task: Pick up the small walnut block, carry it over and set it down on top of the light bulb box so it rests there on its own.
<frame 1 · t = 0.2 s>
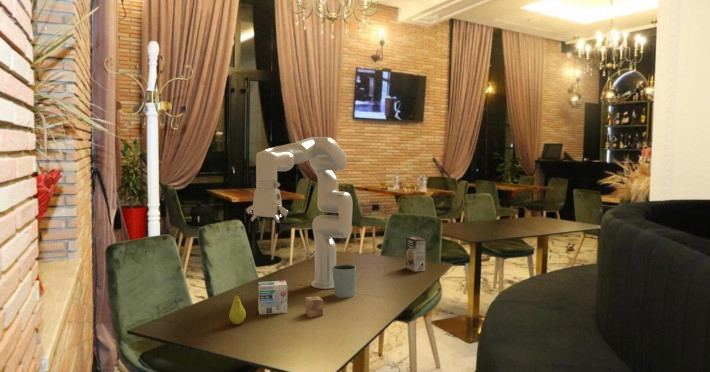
hand: (267, 232, 188), 31 cm above the table, tool pointing down, fingers open, 9 cm apart
light bulb box: (272, 311, 194), on the table
walnut block: (314, 314, 190), on the table
coffee box: (415, 269, 262), on the table
blue cup: (344, 295, 216), on the table
fruit: (237, 324, 180), on the table
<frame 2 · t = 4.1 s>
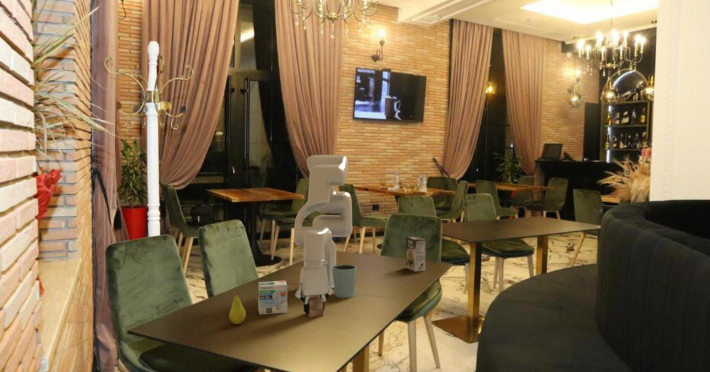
hand: (314, 312, 190), 1 cm above the table, tool pointing down, fingers closed on walnut block, 5 cm apart
walnut block: (314, 314, 190), on the table, touching gripper
everything else where it was.
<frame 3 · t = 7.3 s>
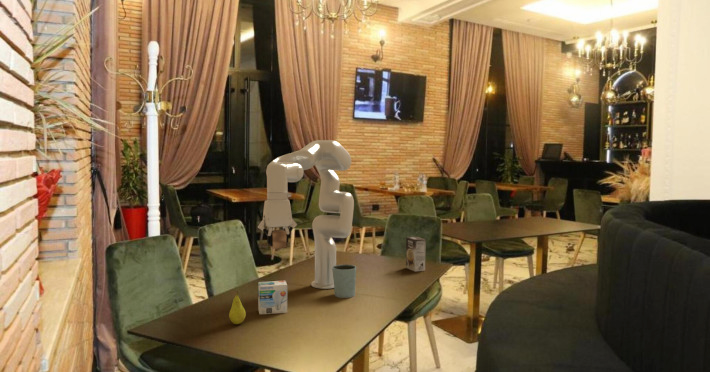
hand: (277, 244, 192), 25 cm above the table, tool pointing down, fingers closed on walnut block, 5 cm apart
walnut block: (278, 247, 192), point 24 cm above the table, touching gripper
everything else where it was.
when the fingers open (13 cm above the table, at t = 10.7 s): walnut block drops 1 cm, resting on light bulb box.
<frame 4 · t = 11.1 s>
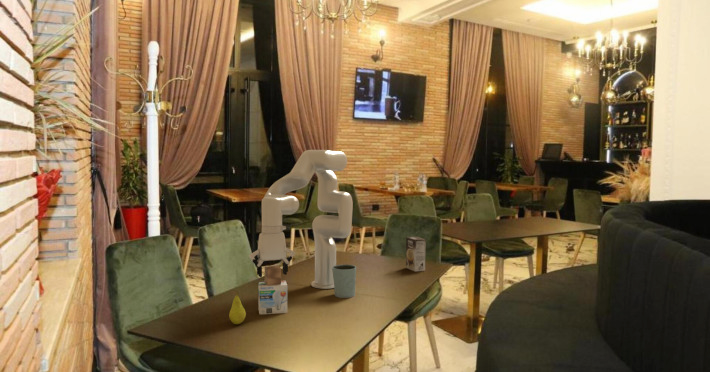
hand: (272, 275, 193), 14 cm above the table, tool pointing down, fingers open, 9 cm apart
light bulb box: (272, 311, 194), on the table, touching walnut block
walnut block: (272, 283, 193), point 11 cm above the table, touching light bulb box
everything else where it was.
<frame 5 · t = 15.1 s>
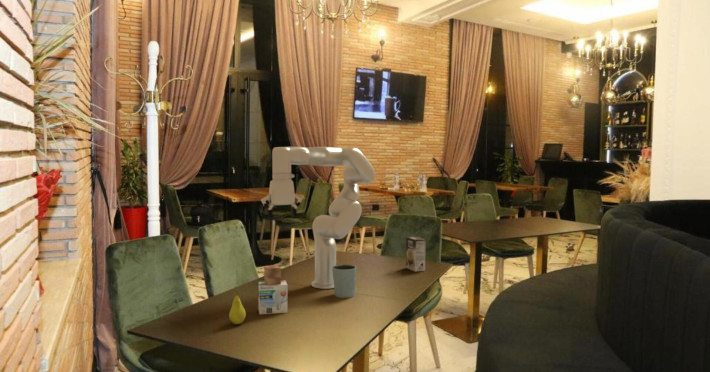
hand: (282, 218, 212), 32 cm above the table, tool pointing down, fingers open, 9 cm apart
nothing on the table moved.
at the end: walnut block inside the target area on the light bulb box (0.0 cm from its centre), point 11.0 cm above the light bulb box's base; walnut block tilted 0°; the gripper is holding nothing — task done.
